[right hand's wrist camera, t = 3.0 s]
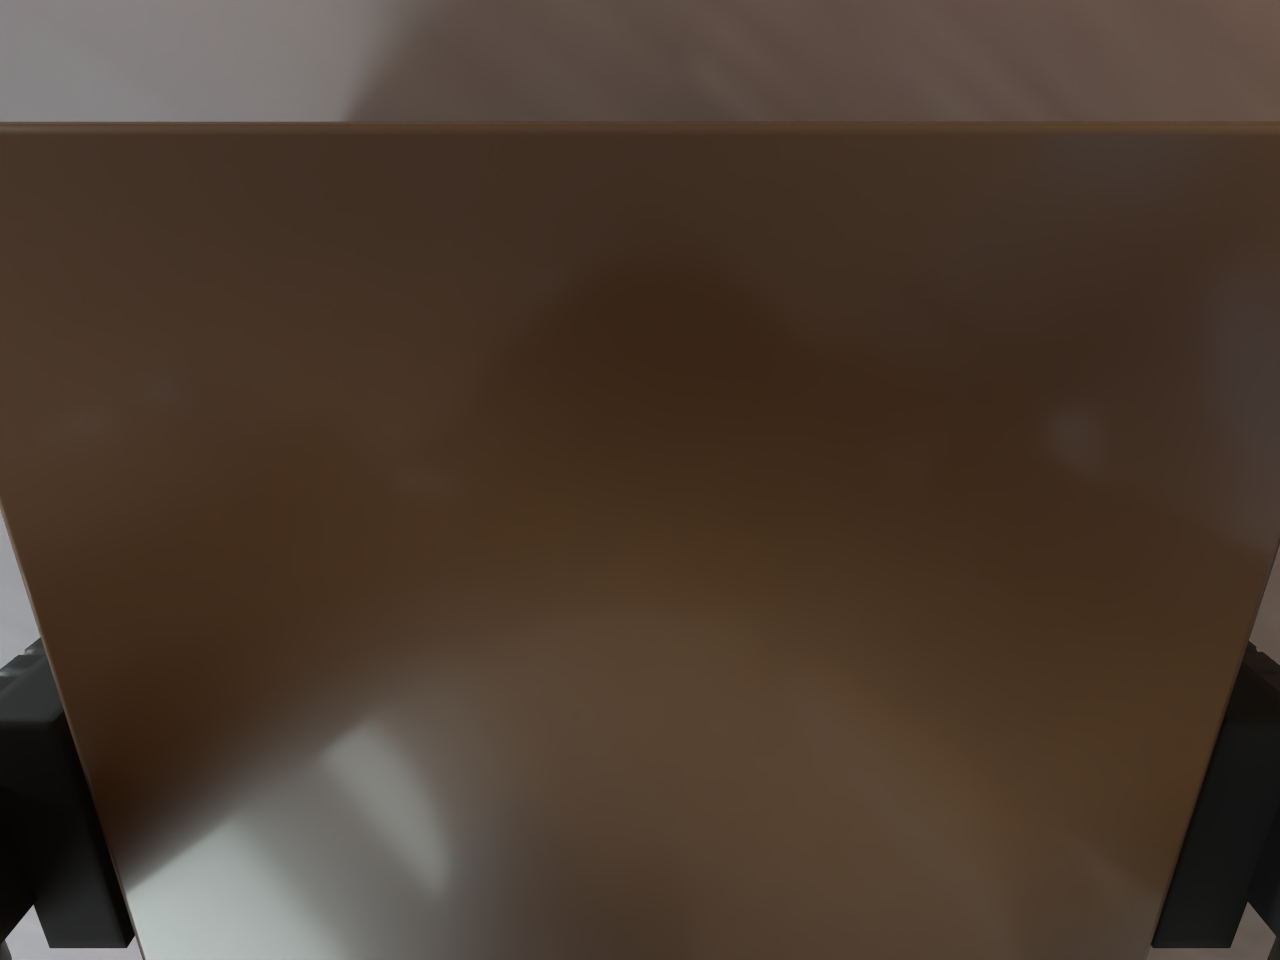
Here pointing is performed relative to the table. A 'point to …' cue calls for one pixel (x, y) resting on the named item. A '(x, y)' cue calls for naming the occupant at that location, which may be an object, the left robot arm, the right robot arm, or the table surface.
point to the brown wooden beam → (642, 524)
